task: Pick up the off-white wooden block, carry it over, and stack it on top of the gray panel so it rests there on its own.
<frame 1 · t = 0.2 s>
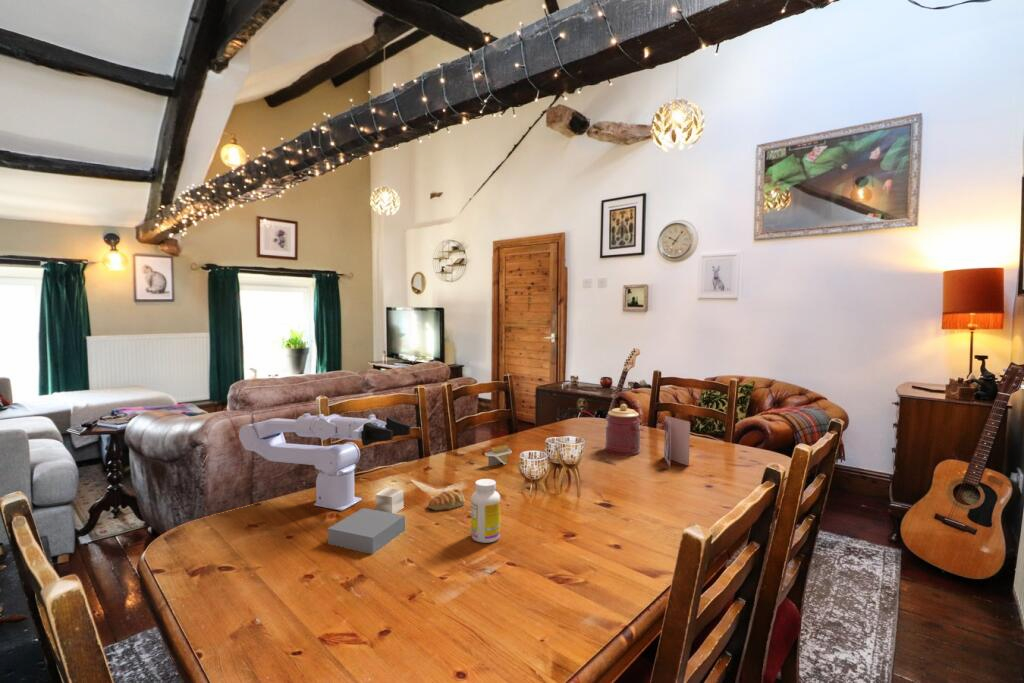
hand: (401, 432, 120), 21 cm above the table, tool horizontal, fingers open, 7 cm apart
supplement bottle: (485, 538, 110), on the table
cream block: (389, 511, 124), on the table
canister: (622, 451, 179), on the table
gray panel: (367, 538, 110), on the table
greeting card: (675, 462, 166), on the table
pastry: (448, 506, 128), on the table
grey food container: (499, 467, 162), on the table
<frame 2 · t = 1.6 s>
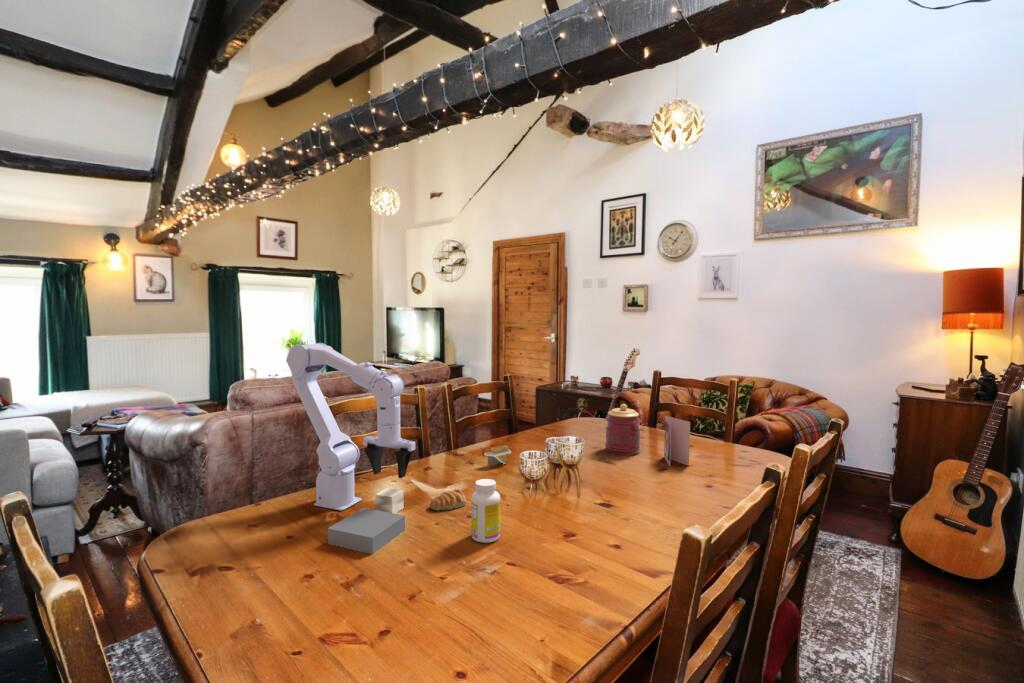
hand: (389, 475, 123), 9 cm above the table, tool pointing down, fingers open, 7 cm apart
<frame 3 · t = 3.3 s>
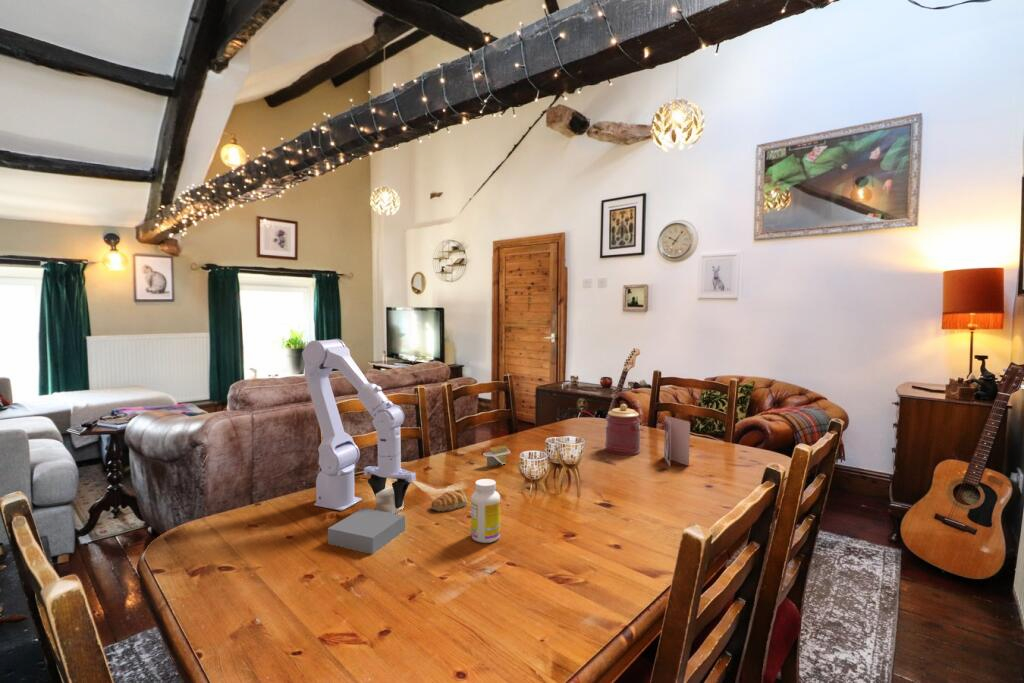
hand: (389, 505, 124), 1 cm above the table, tool pointing down, fingers closed on cream block, 5 cm apart
cream block: (389, 510, 124), on the table, touching gripper
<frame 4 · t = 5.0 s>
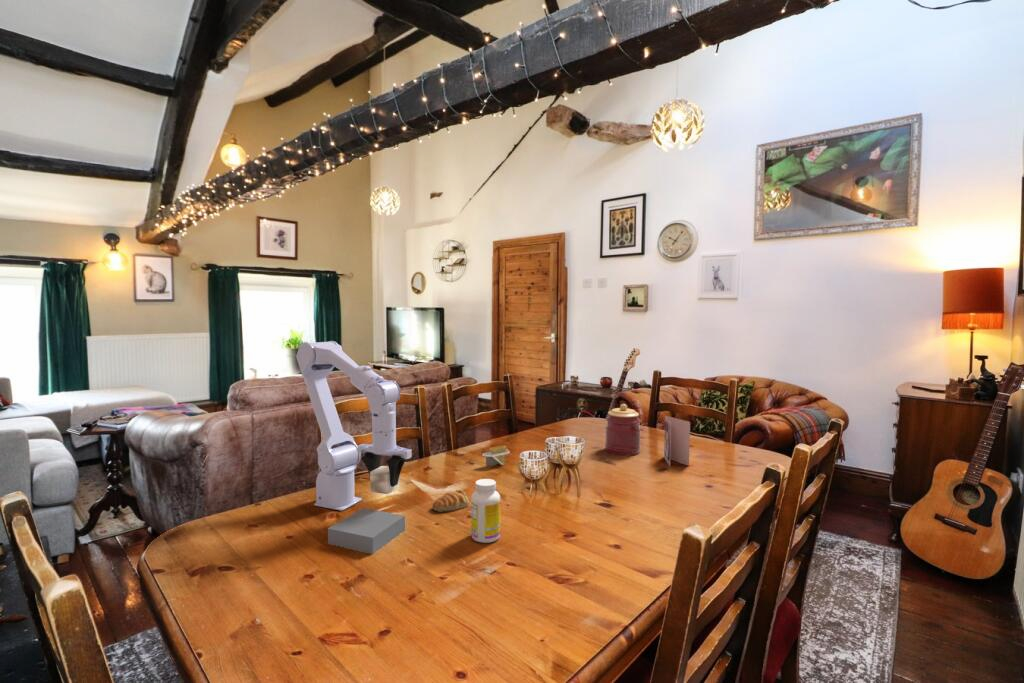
hand: (384, 483, 120), 8 cm above the table, tool pointing down, fingers closed on cream block, 5 cm apart
cream block: (385, 489, 120), point 7 cm above the table, touching gripper
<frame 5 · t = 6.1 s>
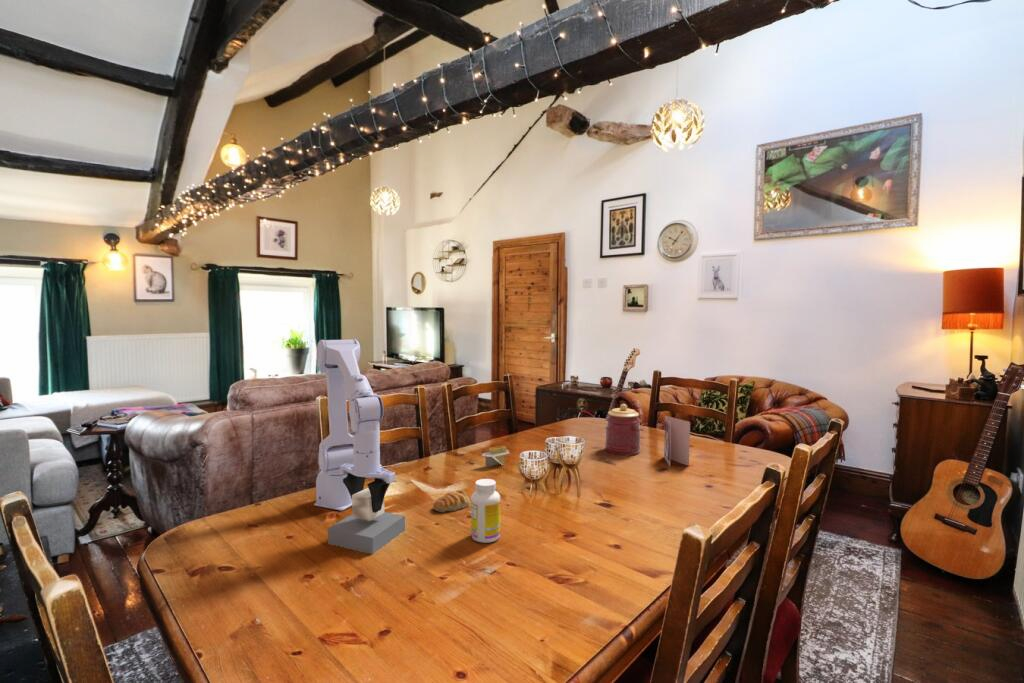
hand: (367, 508, 109), 7 cm above the table, tool pointing down, fingers closed on cream block, 5 cm apart
cream block: (368, 514, 109), point 5 cm above the table, touching gripper
when the fingers open (7 cm above the table, at t = 7.0 s): cream block drops 1 cm, resting on gray panel.
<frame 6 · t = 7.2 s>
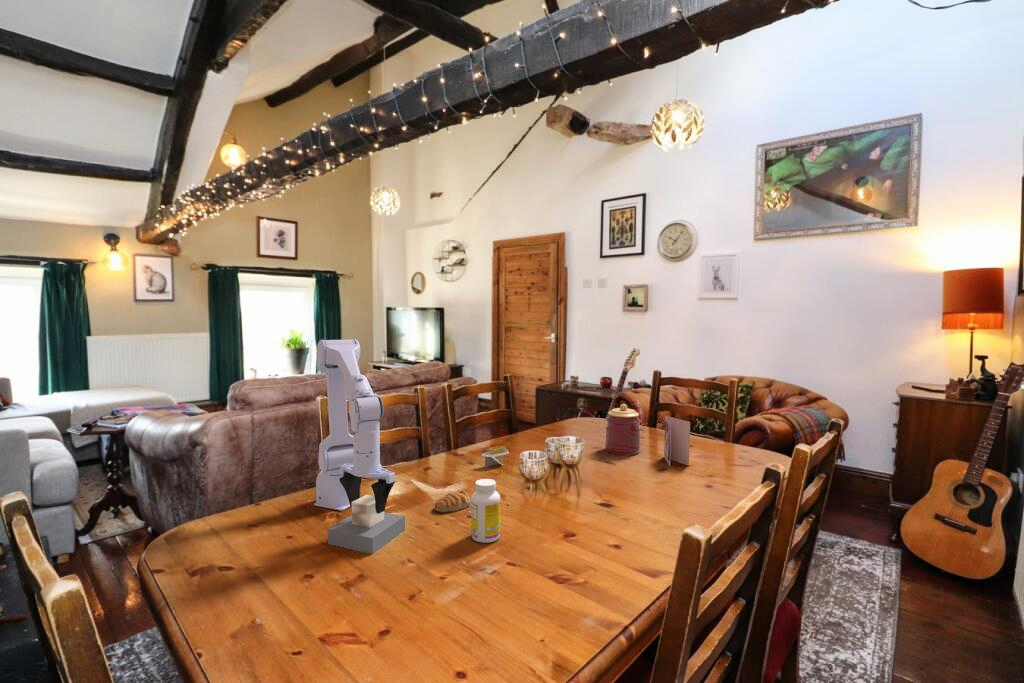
hand: (367, 508, 109), 7 cm above the table, tool pointing down, fingers open, 7 cm apart
cream block: (368, 521, 110), point 3 cm above the table, touching gray panel
gray panel: (367, 539, 110), on the table, touching cream block
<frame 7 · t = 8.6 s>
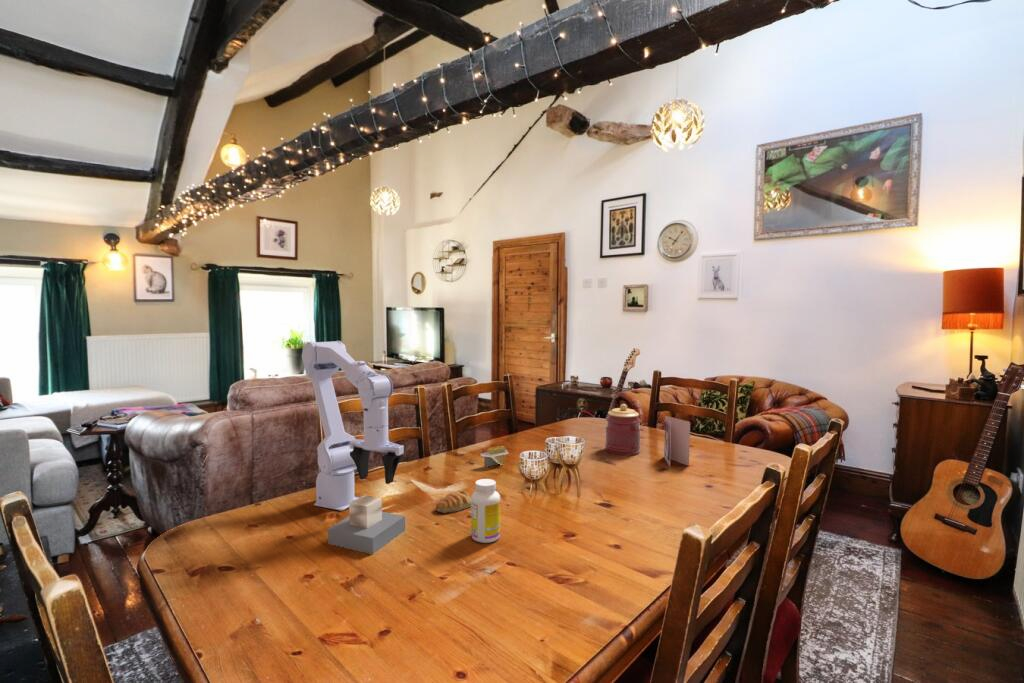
hand: (376, 480, 117), 10 cm above the table, tool pointing down, fingers open, 7 cm apart
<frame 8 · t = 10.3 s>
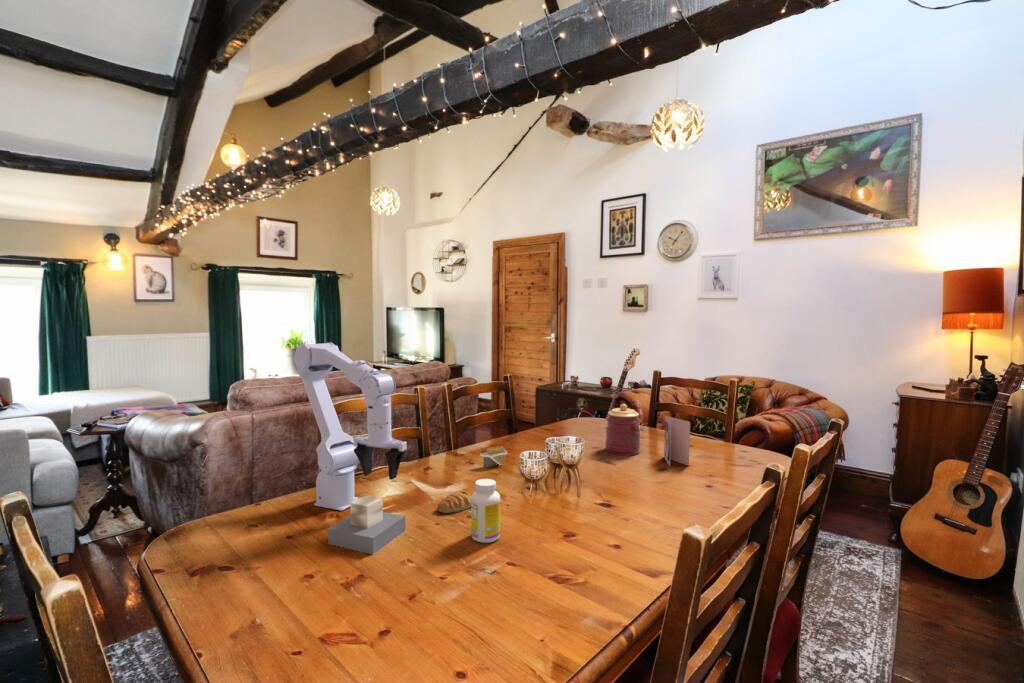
hand: (380, 476, 120), 10 cm above the table, tool pointing down, fingers open, 7 cm apart
at the end: cream block inside the target area on the gray panel (0.3 cm from its centre), point 4.0 cm above the gray panel's base; the gripper is holding nothing; cream block tilted 0° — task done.
